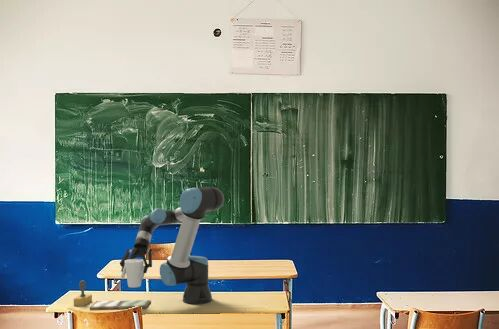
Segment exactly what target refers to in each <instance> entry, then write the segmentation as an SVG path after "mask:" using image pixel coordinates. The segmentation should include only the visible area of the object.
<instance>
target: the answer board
mask: <svg viewBox="0 0 499 329" xmlns="http://www.w3.org/2000/svg"><path fill="white" fill-rule="evenodd" d="M151 301H152V300H149V299H142V300H141V299H138V300H137V299H136V300H134V299H133V300H132V299H131V300H130V299H129V300H128V299H127V300H96V301H94V303H93V304H92V305H91V306H90V307H89V311H92V310H93V311H94V310H95V311H96V310H97V311H99V310H105V311H106V310H107V311H108V310H129V309H128V308H132V307H135V306H141V307H142V309H141V310H147V309H148V307H149V305H150V304H151Z"/></svg>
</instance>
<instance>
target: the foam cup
mask: <svg viewBox="0 0 499 329" xmlns="http://www.w3.org/2000/svg"><path fill="white" fill-rule="evenodd" d="M143 266H145V264H144V261H143V258H135V259H129V260H125V268H126V274H125V276H126V281H127V286H128V288H134V289H135V288H139V287H140V288H141V285H142V279H141V277H140V275H141V272H142V268H143Z"/></svg>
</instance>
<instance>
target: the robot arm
mask: <svg viewBox="0 0 499 329" xmlns="http://www.w3.org/2000/svg"><path fill="white" fill-rule="evenodd" d="M224 203H225V195H224V193H223V191H221V190H220V189H219V188H217V187H215V186H208V187H192V188H187V189H185V190H183V191H182V193H181V195H180V198H179V207H177V208H175V209H170V210H168V209H167V210H164V209H163V208H159V207H156V208H155V209H154V210H152V211H151V212H150V213H149V215H148V214H147V215H144V216H143V217H142V219H141V221H140V224H139V229H138V231H137V235H136V238H135V241H134V244H133V248H132V249H129V248H126V252H125V253H124V256H123V257H122V259H121V260H120V262H119V265H120V266H121V270H120V272H121V275H120V277H121V278H122V280H125V277H126V268H125V260H129V259H137V258H142V259H143V263H144V265H143V268H142V272H141V275H140V277H141V279H142V280H144V277H145V274H147V272H148V269H149V268H152V267H153V254H154V252H153V249H152V248H150V249H149V247H150V243H151V240H152V237H153V233H154V230H156V229H157V228H158V227H159V226H164V225H166V226H167V225H173V224H174V225H175V224H180V226H179V231H178V234H177V236H176V240H175V243H174V247H173V250H172V253H171V254H170V255H168V256H167V260H166V262H163V263H161V264H160V266H159V276H160V279H161V281H162V282H163V284H164V285H166V286H168V287H170V286H171V287H172V286H176V285H182V284H185V288H184V293H183V294H182V302H184V303H185V304H193V305H199V304H200V305H201V304H206V303H207V304H208V303H210V302H212V301H213V294H212V292H211V289H210V286H209V260H208V258H207V257H205V256H199V255H191V252H192V249H193V246H194V242H195V240H196V236H197V234H198V230H199V227H200V223H201V220H204V219H205V218H206V214H207V212H214V211H217V210H220V209H221V208H222V206H223V205H224ZM147 254H148V262H147V259H146V255H147ZM142 280H141V281H142Z"/></svg>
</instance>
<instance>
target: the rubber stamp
mask: <svg viewBox="0 0 499 329" xmlns="http://www.w3.org/2000/svg"><path fill="white" fill-rule="evenodd" d="M86 286H87V282H86V281H85V280H80V281H79V283H78V287H79V289H80V292H81V293H80V294H79V295H78V296H76V297H74V298H73V307H74V306H78V307H85V306H87V305H88V304H89V303H91V302H93V294H92V293H85V289H86Z"/></svg>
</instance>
